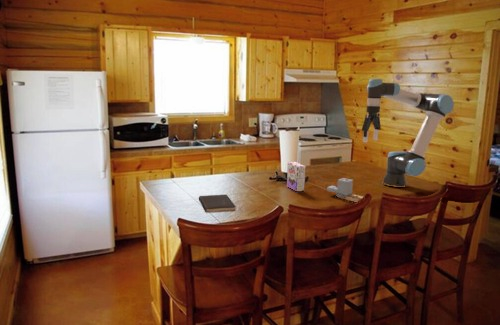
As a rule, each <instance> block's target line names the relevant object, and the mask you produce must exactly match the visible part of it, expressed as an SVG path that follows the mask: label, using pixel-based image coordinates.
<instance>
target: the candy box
mask: <svg viewBox="0 0 500 325" xmlns="http://www.w3.org/2000/svg"><path fill="white" fill-rule="evenodd" d="M286 172H287V173H286V174H287V176H286V187H287V188H288V187H289V188H288V189H290V188H291V189H293V190H295V191H302V190H304V191H305V183H306V165H303V164H302V163H300V162H297V161H289V162H287V171H286ZM291 189H290V190H291ZM293 190H292V191H293ZM295 191H294V192H295Z"/></svg>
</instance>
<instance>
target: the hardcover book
mask: <svg viewBox="0 0 500 325" xmlns="http://www.w3.org/2000/svg"><path fill="white" fill-rule="evenodd" d="M198 200H199V203H200V204H201V205H202V208H203V209H204V211H205V212H218V211H219V212H221V211H235V210H236V208H237V206H236V205H235V204H234V202H233V201H232V199H231V198H230V197H229V196H228V194H211V195H209V194H208V195H199V196H198Z"/></svg>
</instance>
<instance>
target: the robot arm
mask: <svg viewBox="0 0 500 325" xmlns="http://www.w3.org/2000/svg"><path fill="white" fill-rule="evenodd" d="M366 91H367V100H366V104H367V105H366V112H367V113H365V116H364V121H363V124H362V128H361V131H362V132H363V135H362V143H368V142H369V141H368V140H369V129H370V127H371V124H373V127H374V129H373V135H372V136H373V137H372V140H373V141H378V139H379V130H381V120H380V119H381V118H380V115H381V114H380V112H381V103H382V102H381V100H382V97H383V98H386V99H389V100H393V101H397V102H400V103H404V104H408V105H410V107H412V108H416V109H419V110H421V111H424V112H425V114H426V115H425V117H424V119H423V122H422V124H421V126H420V128H419V130H418V133H417V135H416V137H415V138H414V139H415V140H414V141H413V144H412V146H411V148H410V149H409V150H406V151H395V150H394V151H389V152H388V154H387V160H386V161H387V162H386V173H385V176H384V177H383V180H382V184H383V183H386V184H389V185H396V186H404V185H406V184H407V183H408V182H407V178H406V175H408V176H411V177H418V176H420V175H421V174H423V173H424V172H425V169H426V166H427V165H426V161H425V160H426V156H425V154H426V152H427V149H428V148H429V145H430V143H431V141H432V139H433V137H434V134H435V132H436V130H437V128H438V126H439V123H440V121H441V120H443V119H445V117H446V115H449V114H450V113H452V111H453V110H454V107H455V106H454V105H455V103H454V99H453V98H452V96H450V95H449V94H444V93H425V92H424V93H423V92H418V91H417V92H412V91H409V90H406V89H401V86H400V84H399V83H398V82H383V79H382V78H370V79H369V81H368V84H367V87H366ZM406 186H407V185H406Z"/></svg>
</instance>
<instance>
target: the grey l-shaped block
mask: <svg viewBox="0 0 500 325" xmlns="http://www.w3.org/2000/svg"><path fill="white" fill-rule="evenodd" d="M344 179H346V180H347V181H344ZM353 184H354V179H352V178H351V179H349V178H345V177H342V178H339V179H337V186H336V185H330V186H327V187H326V191H328V192H331V193H332V192H333V193H335V194H336V193H339V194H344V195H348V194H351V193H353V186H354V185H353Z"/></svg>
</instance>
